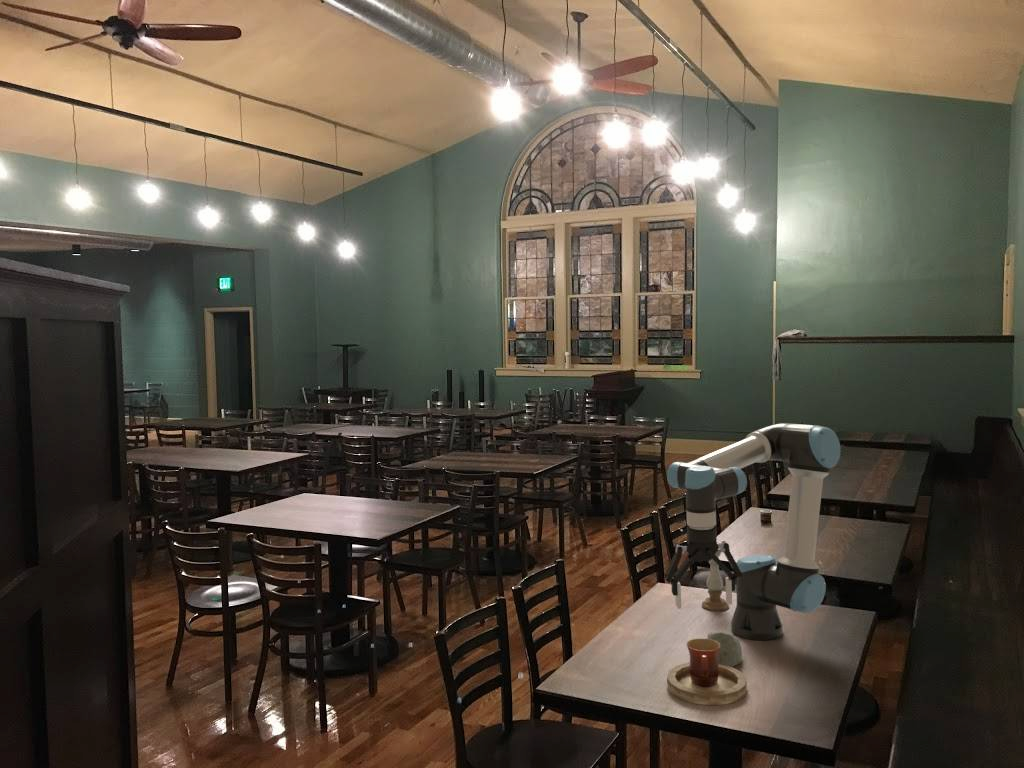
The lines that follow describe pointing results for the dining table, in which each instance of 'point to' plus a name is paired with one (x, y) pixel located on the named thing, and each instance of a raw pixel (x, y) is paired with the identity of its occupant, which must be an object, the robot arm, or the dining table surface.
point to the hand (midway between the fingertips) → (703, 604)
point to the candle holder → (715, 588)
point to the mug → (704, 661)
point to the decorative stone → (727, 648)
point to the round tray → (721, 693)
